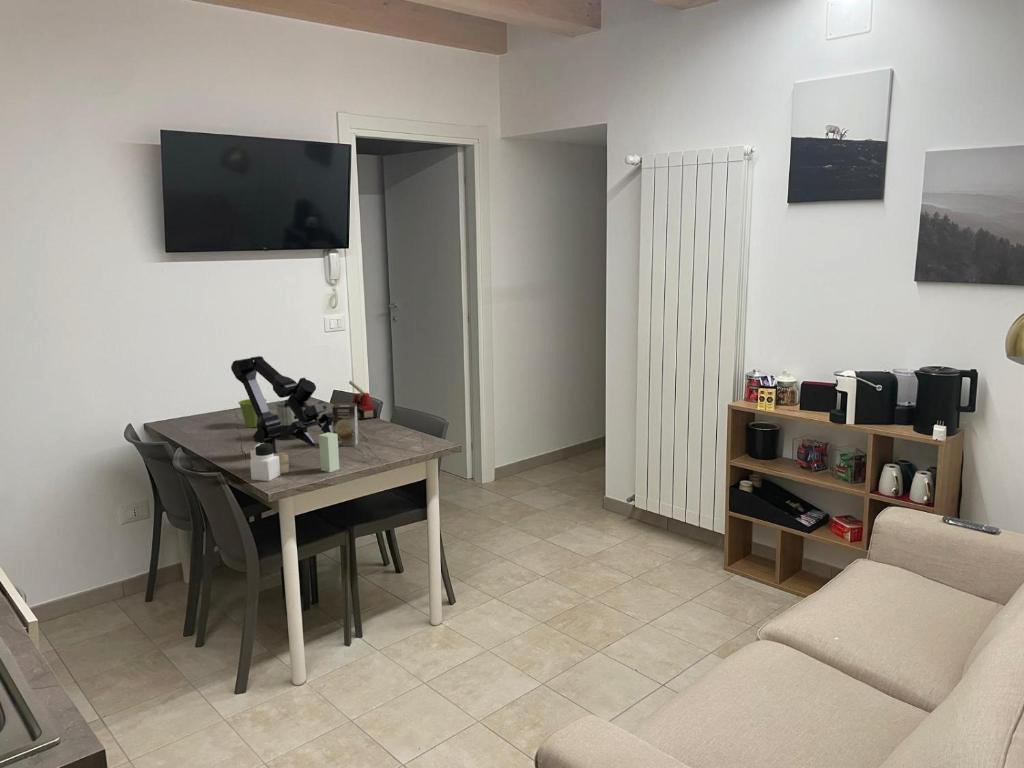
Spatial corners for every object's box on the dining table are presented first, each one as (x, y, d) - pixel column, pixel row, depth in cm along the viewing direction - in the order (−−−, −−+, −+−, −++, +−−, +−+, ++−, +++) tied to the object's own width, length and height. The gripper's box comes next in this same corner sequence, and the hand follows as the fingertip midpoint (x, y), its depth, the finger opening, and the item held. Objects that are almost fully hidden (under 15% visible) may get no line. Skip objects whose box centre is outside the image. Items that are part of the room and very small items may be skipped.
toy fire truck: (369, 411, 363) (367, 375, 359) (377, 419, 349) (376, 380, 345) (345, 414, 358) (343, 377, 355) (353, 421, 344) (351, 383, 341)
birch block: (270, 470, 274) (269, 454, 273) (284, 468, 277) (283, 452, 276) (275, 474, 270) (274, 457, 269) (289, 471, 273) (288, 455, 272)
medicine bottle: (280, 475, 269) (278, 442, 267) (269, 481, 262) (266, 447, 260) (263, 473, 271) (260, 440, 269) (251, 479, 264) (248, 446, 262)
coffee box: (333, 446, 304) (331, 407, 301) (336, 442, 311) (333, 403, 307) (356, 446, 305) (354, 406, 301) (359, 441, 311) (357, 403, 308)
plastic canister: (251, 468, 278) (250, 449, 276) (266, 466, 279) (264, 448, 278) (252, 472, 273) (250, 453, 272) (266, 470, 275) (265, 451, 273)
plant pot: (272, 422, 343) (270, 398, 341) (261, 429, 332) (259, 404, 329) (247, 422, 344) (245, 398, 342) (235, 429, 333) (233, 404, 331)
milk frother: (294, 440, 313) (291, 405, 310) (259, 439, 317) (256, 404, 314) (310, 432, 327) (308, 398, 324) (276, 430, 330) (273, 396, 327)
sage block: (320, 470, 274) (318, 435, 272) (330, 466, 278) (328, 432, 275) (329, 472, 272) (327, 436, 269) (339, 468, 275) (337, 433, 273)
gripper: (290, 400, 266) (314, 434, 262) (330, 390, 281) (353, 423, 278) (276, 419, 272) (300, 453, 268) (316, 409, 287) (339, 441, 283)
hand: (324, 442), depth 274 cm, fingers open, 9 cm apart
